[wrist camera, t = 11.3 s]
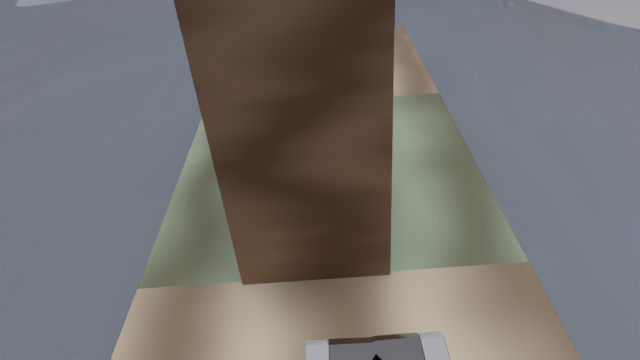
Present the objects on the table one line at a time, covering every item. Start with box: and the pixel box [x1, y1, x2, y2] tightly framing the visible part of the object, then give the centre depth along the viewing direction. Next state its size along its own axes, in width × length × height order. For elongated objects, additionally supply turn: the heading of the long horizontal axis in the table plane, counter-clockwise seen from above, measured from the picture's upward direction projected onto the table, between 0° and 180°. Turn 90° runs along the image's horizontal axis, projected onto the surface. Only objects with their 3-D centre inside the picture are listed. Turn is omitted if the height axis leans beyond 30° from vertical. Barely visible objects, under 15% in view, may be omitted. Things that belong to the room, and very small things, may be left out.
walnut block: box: [174, 0, 395, 285], centre depth 22 cm, size 6×14×12 cm, turn 1°
